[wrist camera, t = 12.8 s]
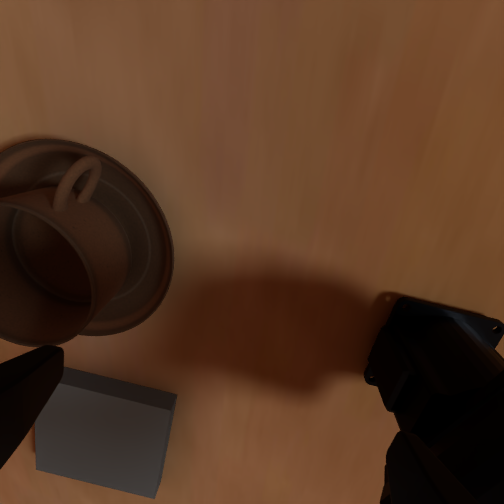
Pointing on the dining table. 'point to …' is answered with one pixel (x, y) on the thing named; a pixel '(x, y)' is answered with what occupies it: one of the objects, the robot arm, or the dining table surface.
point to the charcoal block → (105, 432)
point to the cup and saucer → (77, 245)
